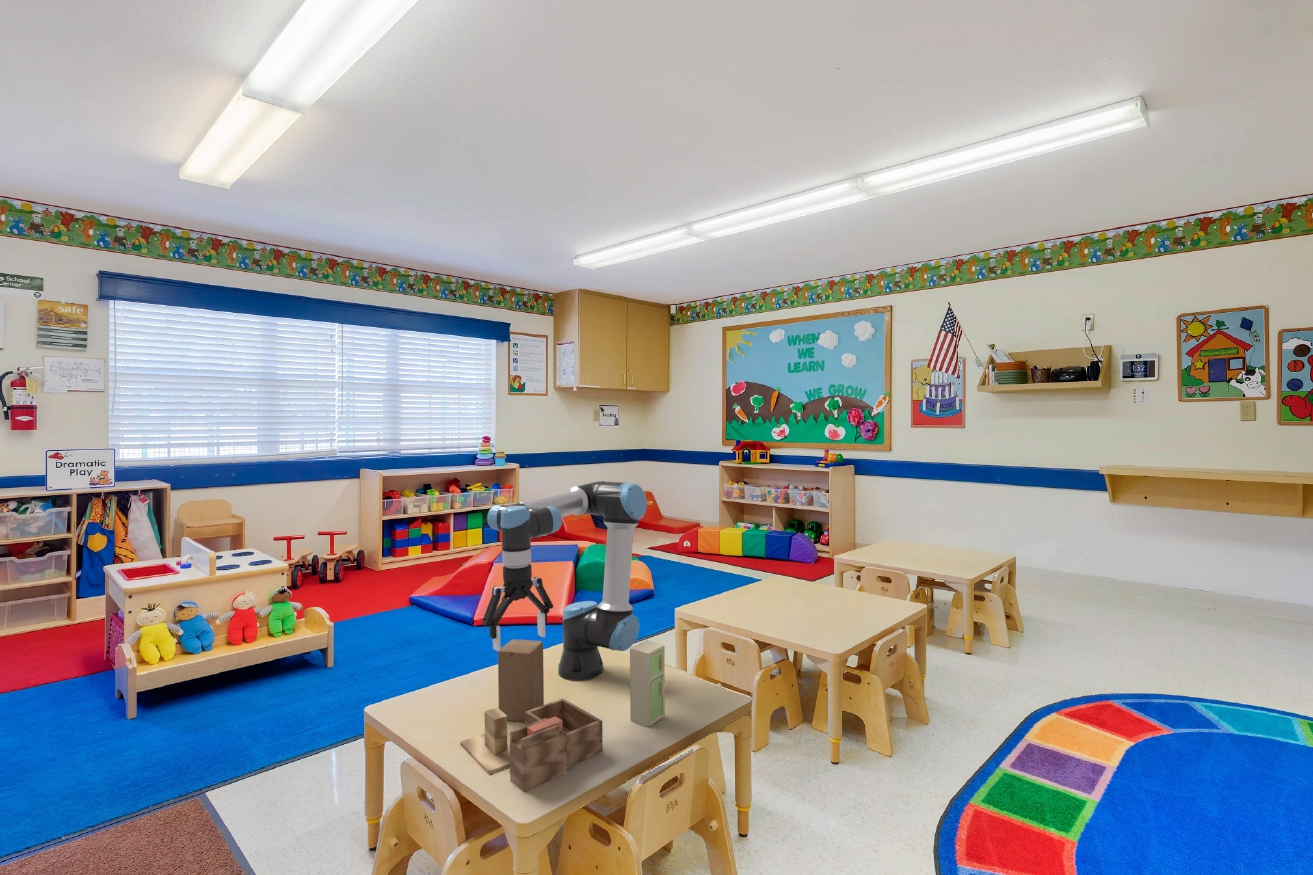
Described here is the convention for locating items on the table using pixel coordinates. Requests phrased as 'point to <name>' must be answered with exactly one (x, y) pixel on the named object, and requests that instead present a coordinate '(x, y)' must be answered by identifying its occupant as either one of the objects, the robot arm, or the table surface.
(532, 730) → the pink rectangular block
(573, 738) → the brown wooden open box
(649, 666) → the toy refrigerator
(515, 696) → the wooden block
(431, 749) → the table surface
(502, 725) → the lid
